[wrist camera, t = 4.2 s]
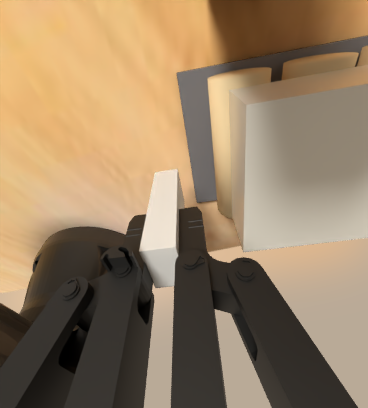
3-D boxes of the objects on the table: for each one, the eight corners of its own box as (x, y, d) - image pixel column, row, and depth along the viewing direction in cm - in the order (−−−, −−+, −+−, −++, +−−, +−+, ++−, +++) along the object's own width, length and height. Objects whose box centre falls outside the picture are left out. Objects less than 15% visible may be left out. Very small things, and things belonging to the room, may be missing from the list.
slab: (232, 216, 18) (243, 252, 15) (228, 90, 12) (246, 104, 9) (376, 197, 17) (421, 231, 14) (451, 49, 11) (560, 49, 8)
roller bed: (196, 199, 23) (199, 228, 19) (176, 72, 15) (175, 80, 12) (465, 161, 20) (528, 186, 17) (590, -8, 13) (749, -30, 9)
